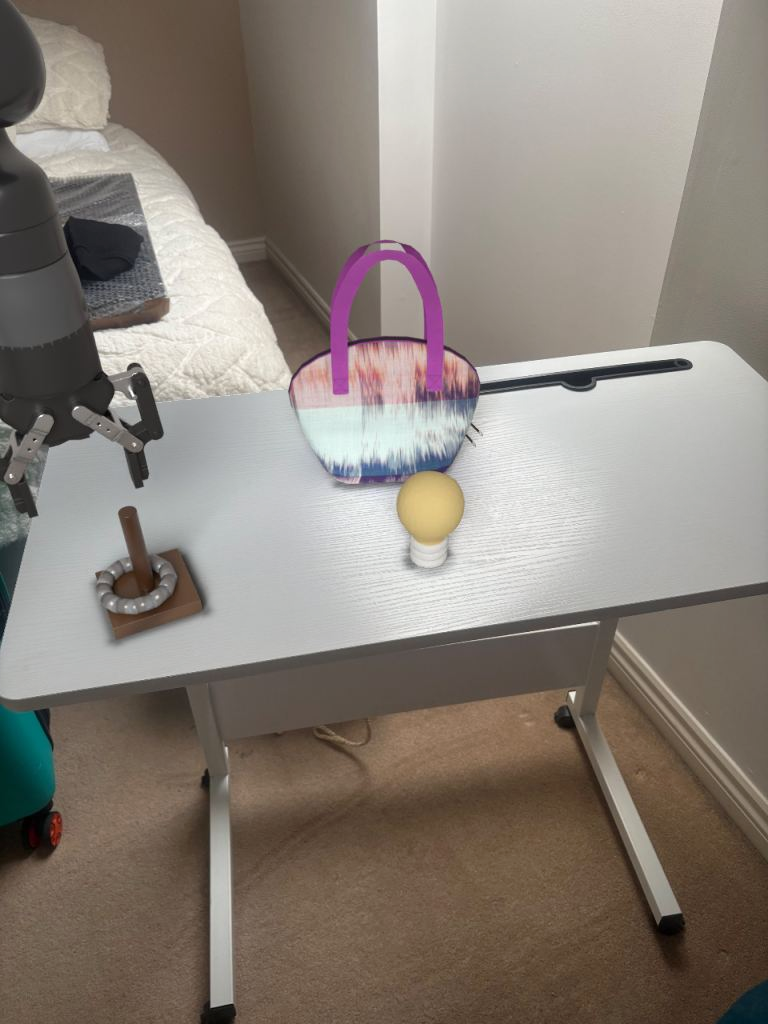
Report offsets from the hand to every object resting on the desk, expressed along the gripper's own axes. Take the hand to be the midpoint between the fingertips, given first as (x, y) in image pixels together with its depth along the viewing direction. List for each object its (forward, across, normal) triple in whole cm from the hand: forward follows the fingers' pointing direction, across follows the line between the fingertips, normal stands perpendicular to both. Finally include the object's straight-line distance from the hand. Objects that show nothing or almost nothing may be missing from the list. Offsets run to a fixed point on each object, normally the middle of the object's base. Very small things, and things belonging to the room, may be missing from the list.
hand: (85, 497), depth 69 cm
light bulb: (+13, -29, +7) cm, 33 cm away
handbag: (+13, -33, -10) cm, 37 cm away
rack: (+13, -3, 0) cm, 13 cm away
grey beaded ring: (+11, -2, 0) cm, 11 cm away
